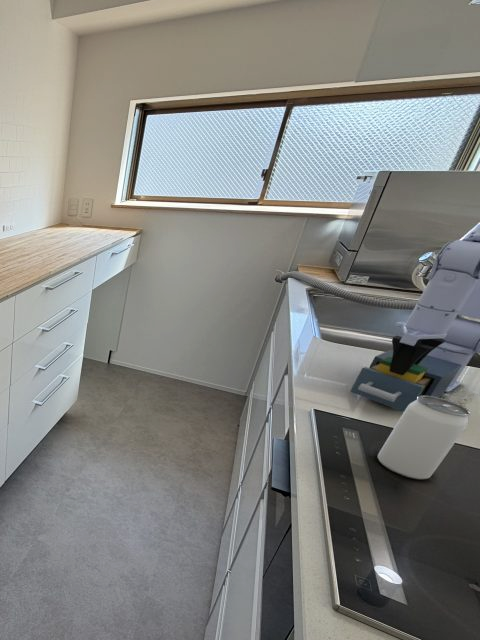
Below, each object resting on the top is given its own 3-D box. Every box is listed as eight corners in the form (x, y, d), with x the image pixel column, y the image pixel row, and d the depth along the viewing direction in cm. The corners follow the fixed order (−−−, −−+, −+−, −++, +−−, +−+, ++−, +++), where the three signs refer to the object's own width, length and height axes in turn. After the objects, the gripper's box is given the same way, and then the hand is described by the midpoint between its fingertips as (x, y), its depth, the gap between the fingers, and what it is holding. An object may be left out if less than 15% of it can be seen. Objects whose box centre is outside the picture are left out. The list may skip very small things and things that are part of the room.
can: (441, 484, 64) (488, 419, 59) (393, 477, 65) (435, 413, 60) (410, 458, 70) (450, 397, 64) (366, 452, 71) (402, 391, 65)
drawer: (398, 419, 79) (414, 393, 76) (339, 396, 86) (352, 372, 84) (427, 399, 87) (442, 375, 84) (371, 380, 94) (384, 357, 91)
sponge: (419, 381, 83) (427, 367, 82) (412, 385, 81) (420, 371, 80) (382, 368, 88) (389, 356, 86) (374, 372, 86) (381, 359, 85)
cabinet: (421, 409, 84) (442, 377, 81) (358, 386, 93) (375, 356, 89) (442, 395, 90) (462, 365, 87) (381, 375, 98) (397, 346, 95)
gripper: (422, 296, 84) (389, 356, 90) (395, 305, 77) (361, 369, 84) (472, 306, 79) (433, 369, 85) (447, 317, 72) (407, 384, 78)
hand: (400, 370), depth 84 cm, fingers closed on sponge, 4 cm apart
